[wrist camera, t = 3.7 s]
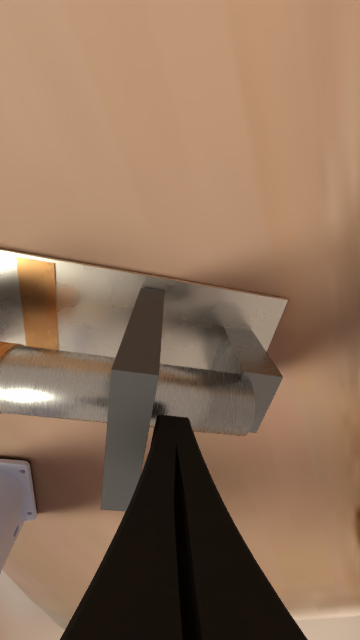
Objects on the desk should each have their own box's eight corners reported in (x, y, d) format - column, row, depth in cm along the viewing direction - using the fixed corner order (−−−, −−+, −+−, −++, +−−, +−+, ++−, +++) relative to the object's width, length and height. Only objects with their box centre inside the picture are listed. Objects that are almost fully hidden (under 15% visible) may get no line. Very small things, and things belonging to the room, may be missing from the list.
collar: (164, 291, 14) (159, 375, 7) (148, 388, 17) (133, 511, 10) (140, 287, 14) (111, 369, 7) (128, 386, 17) (100, 509, 10)
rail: (285, 298, 15) (380, 373, 8) (242, 401, 19) (284, 510, 12) (-100, 231, 12) (-426, 260, 6) (-58, 366, 16) (-220, 481, 9)
